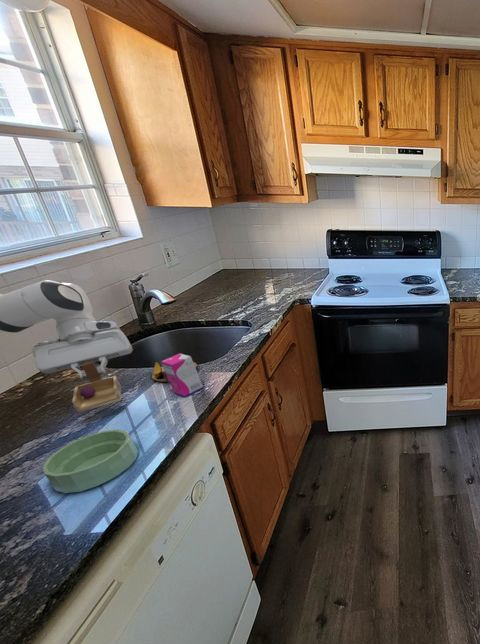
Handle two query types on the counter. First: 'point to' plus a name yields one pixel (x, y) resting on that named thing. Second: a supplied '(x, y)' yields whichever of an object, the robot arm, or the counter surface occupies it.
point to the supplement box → (182, 375)
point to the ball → (87, 392)
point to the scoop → (96, 389)
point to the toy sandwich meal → (161, 373)
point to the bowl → (90, 461)
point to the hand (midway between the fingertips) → (93, 375)
